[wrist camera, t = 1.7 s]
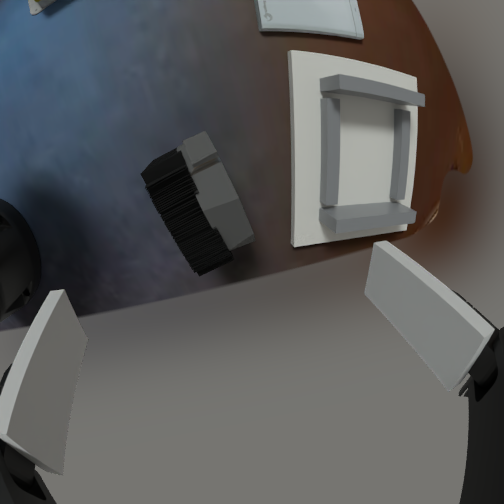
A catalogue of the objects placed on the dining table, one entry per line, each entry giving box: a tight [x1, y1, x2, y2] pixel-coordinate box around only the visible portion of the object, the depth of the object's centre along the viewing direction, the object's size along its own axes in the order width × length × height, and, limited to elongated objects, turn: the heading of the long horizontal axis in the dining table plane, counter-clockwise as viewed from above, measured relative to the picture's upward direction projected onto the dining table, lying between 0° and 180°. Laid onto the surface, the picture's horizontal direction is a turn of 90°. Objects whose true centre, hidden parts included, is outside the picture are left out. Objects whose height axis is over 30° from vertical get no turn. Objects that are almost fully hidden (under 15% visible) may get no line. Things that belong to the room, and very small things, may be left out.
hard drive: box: [254, 0, 364, 40], centre depth 19 cm, size 2×8×12 cm
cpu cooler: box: [141, 131, 255, 276], centre depth 22 cm, size 10×6×10 cm, turn 22°
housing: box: [288, 50, 425, 247], centre depth 26 cm, size 18×22×5 cm
